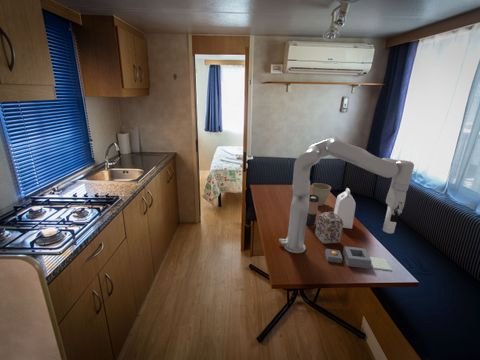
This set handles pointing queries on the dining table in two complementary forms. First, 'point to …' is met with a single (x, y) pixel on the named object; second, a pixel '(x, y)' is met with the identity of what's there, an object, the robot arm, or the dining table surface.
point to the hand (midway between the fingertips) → (391, 218)
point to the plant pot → (321, 192)
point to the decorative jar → (329, 227)
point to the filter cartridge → (389, 222)
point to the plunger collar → (333, 256)
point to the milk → (345, 208)
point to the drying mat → (380, 263)
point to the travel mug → (312, 209)
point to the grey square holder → (356, 257)
